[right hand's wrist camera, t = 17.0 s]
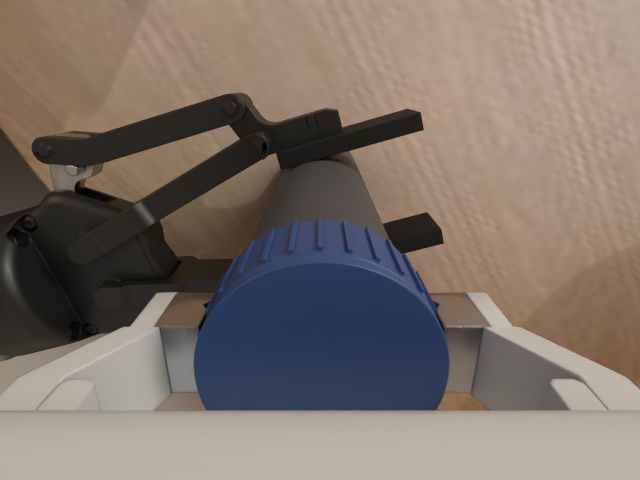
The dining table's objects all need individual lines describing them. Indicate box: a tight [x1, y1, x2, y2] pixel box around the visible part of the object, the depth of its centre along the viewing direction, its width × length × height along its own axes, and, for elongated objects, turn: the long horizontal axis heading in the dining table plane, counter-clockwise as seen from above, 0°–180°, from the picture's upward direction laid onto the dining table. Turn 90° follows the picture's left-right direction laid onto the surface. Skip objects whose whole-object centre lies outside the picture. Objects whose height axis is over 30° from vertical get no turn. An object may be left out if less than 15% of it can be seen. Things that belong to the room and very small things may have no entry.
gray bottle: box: [253, 151, 389, 241], centre depth 17 cm, size 5×5×18 cm
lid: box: [193, 218, 450, 410], centre depth 9 cm, size 5×5×2 cm
